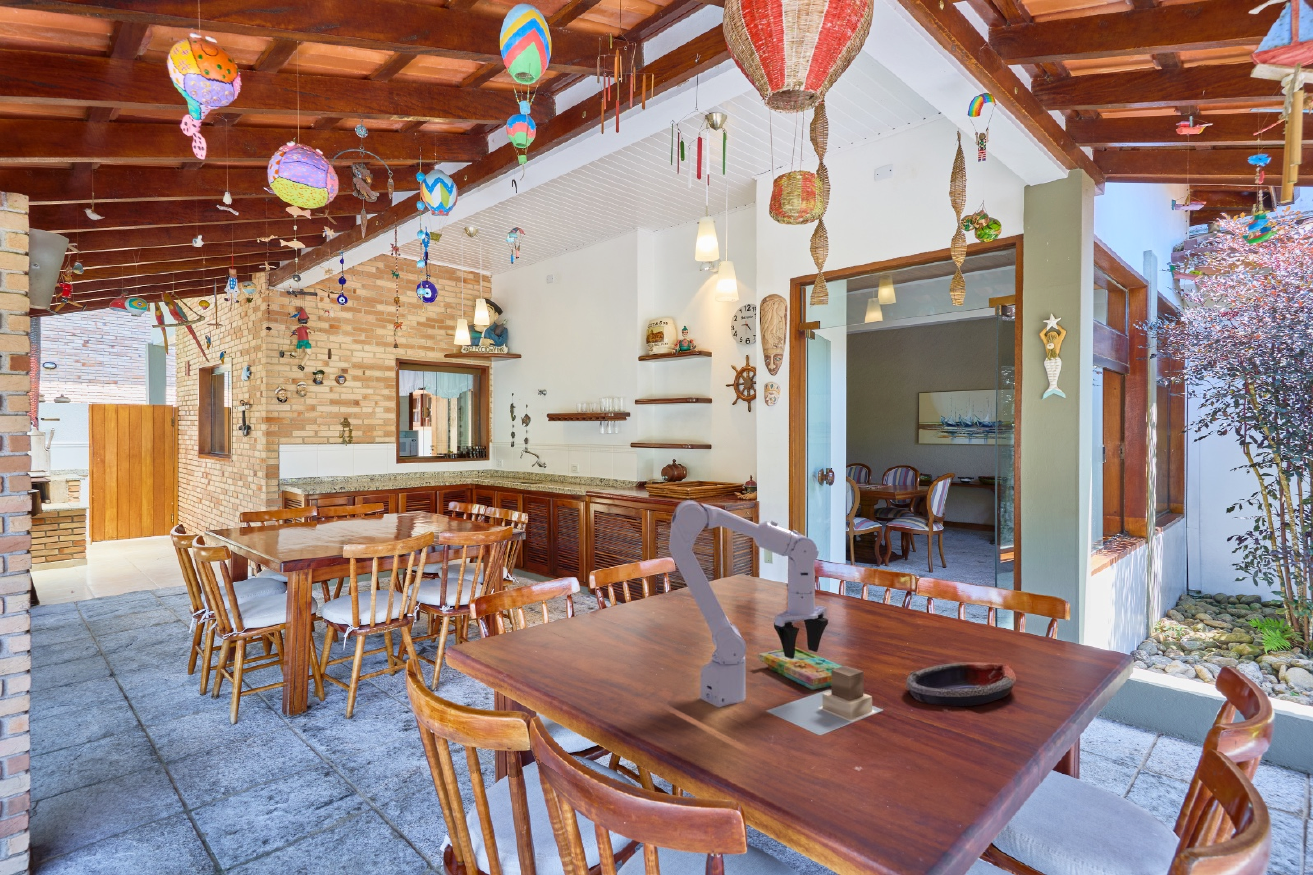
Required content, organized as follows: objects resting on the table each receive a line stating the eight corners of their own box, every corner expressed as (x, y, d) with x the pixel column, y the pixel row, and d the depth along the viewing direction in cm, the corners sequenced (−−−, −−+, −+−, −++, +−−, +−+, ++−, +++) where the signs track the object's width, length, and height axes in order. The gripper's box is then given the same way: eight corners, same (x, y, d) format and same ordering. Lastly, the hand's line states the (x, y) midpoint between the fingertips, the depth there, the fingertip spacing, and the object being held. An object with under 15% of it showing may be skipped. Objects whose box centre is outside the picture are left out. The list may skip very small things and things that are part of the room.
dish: (885, 693, 146) (885, 670, 146) (983, 674, 159) (983, 653, 159) (941, 720, 132) (941, 695, 132) (1044, 696, 145) (1043, 673, 145)
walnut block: (849, 701, 131) (849, 676, 131) (831, 694, 135) (831, 669, 135) (863, 696, 134) (863, 671, 134) (845, 689, 138) (845, 665, 138)
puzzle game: (812, 675, 145) (758, 650, 162) (812, 696, 144) (758, 669, 162) (852, 667, 150) (795, 643, 168) (852, 687, 150) (795, 662, 168)
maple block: (850, 719, 130) (850, 704, 130) (822, 708, 135) (822, 693, 135) (872, 711, 134) (872, 696, 134) (844, 700, 139) (843, 686, 140)
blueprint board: (819, 739, 123) (819, 735, 123) (765, 714, 134) (765, 710, 134) (883, 713, 135) (883, 709, 135) (828, 693, 146) (828, 689, 146)
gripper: (792, 599, 135) (792, 665, 134) (837, 590, 143) (837, 652, 143) (767, 593, 140) (767, 656, 140) (812, 584, 149) (812, 644, 149)
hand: (801, 654), depth 142 cm, fingers open, 7 cm apart
